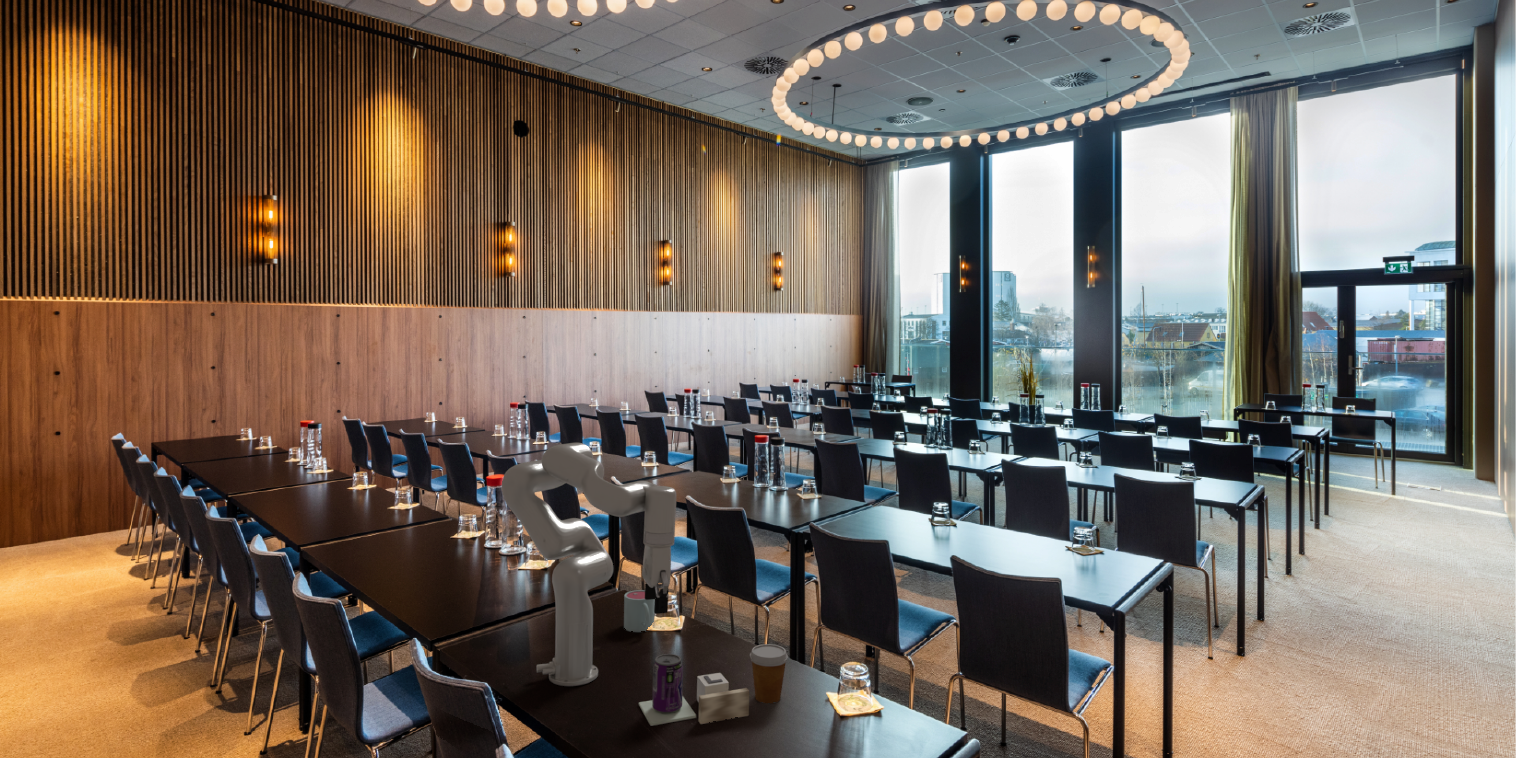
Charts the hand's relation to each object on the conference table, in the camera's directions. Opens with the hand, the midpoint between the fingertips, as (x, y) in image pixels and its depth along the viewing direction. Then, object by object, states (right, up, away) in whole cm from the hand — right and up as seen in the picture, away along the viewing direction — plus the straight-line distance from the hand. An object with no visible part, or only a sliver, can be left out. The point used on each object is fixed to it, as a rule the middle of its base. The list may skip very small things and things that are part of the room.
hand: (655, 605), depth 188 cm
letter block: (+14, -24, -1) cm, 28 cm away
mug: (-11, -22, +48) cm, 53 cm away
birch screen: (+17, -24, -8) cm, 31 cm away
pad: (+3, -24, -5) cm, 25 cm away
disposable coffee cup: (+28, -24, +3) cm, 37 cm away
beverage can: (+3, -23, -5) cm, 24 cm away
